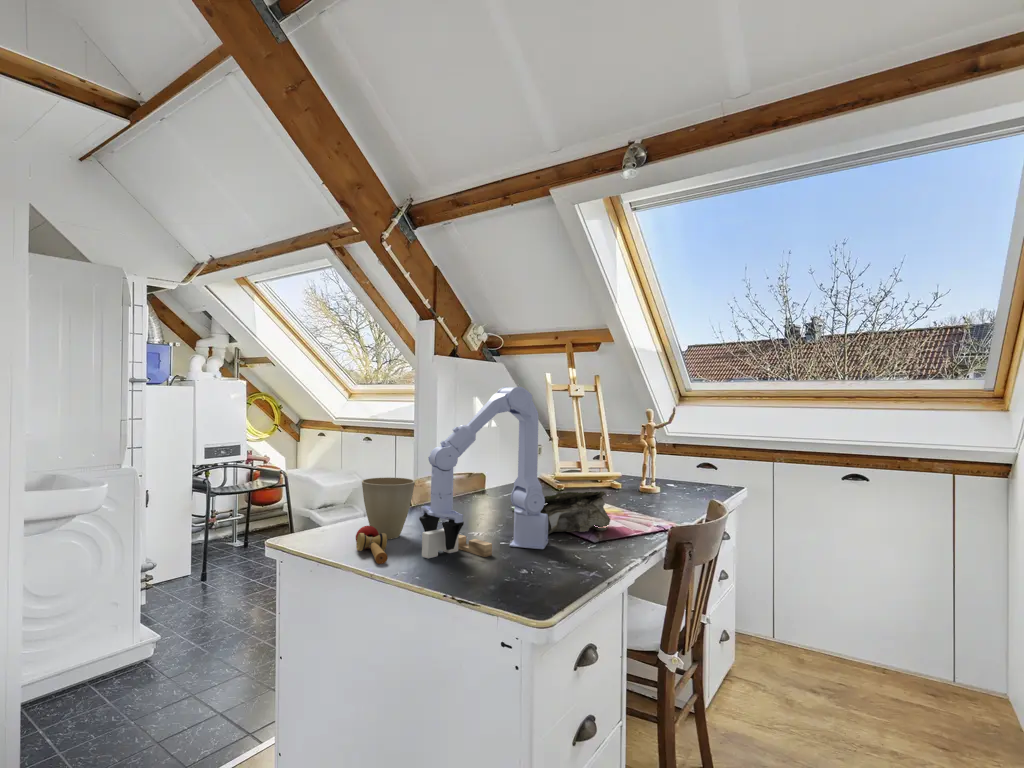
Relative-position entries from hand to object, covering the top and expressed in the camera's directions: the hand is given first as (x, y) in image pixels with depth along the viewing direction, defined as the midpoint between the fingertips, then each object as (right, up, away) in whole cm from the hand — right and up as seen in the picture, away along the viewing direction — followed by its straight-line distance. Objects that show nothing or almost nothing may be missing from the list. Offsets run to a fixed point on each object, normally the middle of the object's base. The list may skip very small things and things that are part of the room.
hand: (440, 546), depth 142 cm
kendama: (-17, -2, -2) cm, 17 cm away
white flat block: (0, -2, 0) cm, 2 cm away
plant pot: (-17, -2, +16) cm, 24 cm away
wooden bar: (+7, -2, +4) cm, 8 cm away
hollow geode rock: (+36, -4, +28) cm, 46 cm away
